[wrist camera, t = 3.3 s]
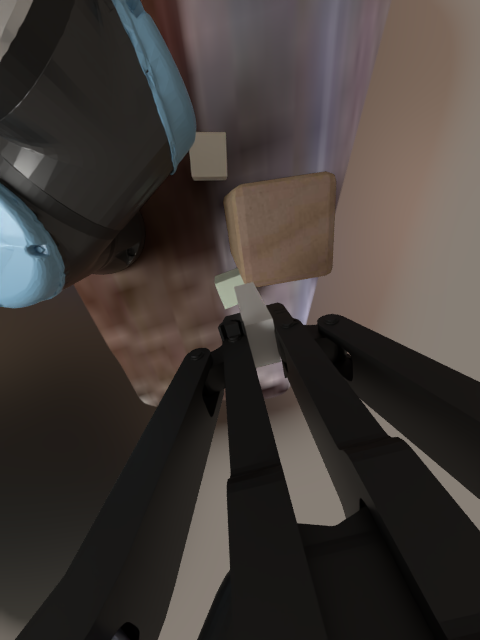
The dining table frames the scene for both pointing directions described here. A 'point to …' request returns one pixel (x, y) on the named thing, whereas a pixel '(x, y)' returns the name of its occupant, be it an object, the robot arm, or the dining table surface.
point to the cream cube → (209, 156)
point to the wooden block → (282, 228)
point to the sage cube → (228, 287)
